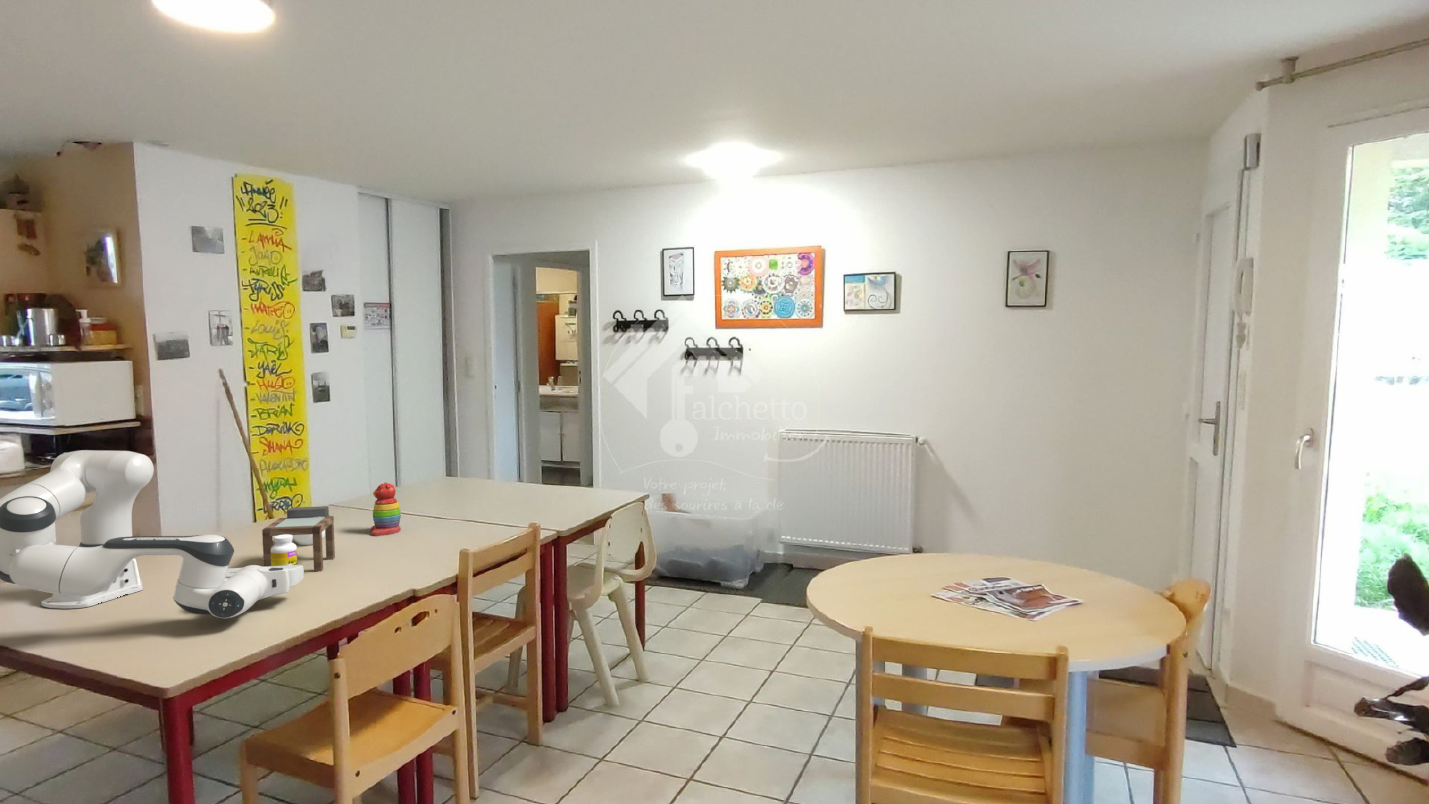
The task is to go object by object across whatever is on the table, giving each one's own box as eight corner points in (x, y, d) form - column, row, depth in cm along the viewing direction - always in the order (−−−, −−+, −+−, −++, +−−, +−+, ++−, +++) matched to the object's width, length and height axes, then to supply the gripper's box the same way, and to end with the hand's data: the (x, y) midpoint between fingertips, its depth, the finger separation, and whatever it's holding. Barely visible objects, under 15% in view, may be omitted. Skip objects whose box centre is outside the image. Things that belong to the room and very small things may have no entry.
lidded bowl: (338, 538, 266) (337, 507, 265) (315, 548, 254) (314, 515, 253) (304, 537, 268) (303, 506, 267) (280, 546, 255) (279, 514, 254)
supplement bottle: (289, 583, 218) (287, 539, 217) (266, 583, 218) (264, 539, 217) (302, 576, 224) (300, 533, 223) (280, 575, 225) (278, 533, 223)
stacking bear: (370, 529, 278) (369, 481, 277) (400, 526, 283) (399, 479, 281) (371, 536, 269) (369, 487, 267) (402, 533, 273) (400, 484, 271)
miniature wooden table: (281, 560, 240) (279, 518, 239) (335, 557, 243) (333, 515, 242) (264, 574, 226) (262, 529, 225) (321, 571, 229) (319, 527, 228)
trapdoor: (291, 526, 243) (291, 507, 242) (329, 524, 245) (328, 506, 245) (274, 538, 228) (273, 519, 227) (314, 536, 230) (313, 517, 230)
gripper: (206, 597, 194) (229, 580, 208) (294, 592, 199) (310, 576, 212) (205, 573, 194) (228, 558, 207) (293, 569, 198) (309, 554, 212)
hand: (270, 567), depth 210 cm, fingers open, 8 cm apart
